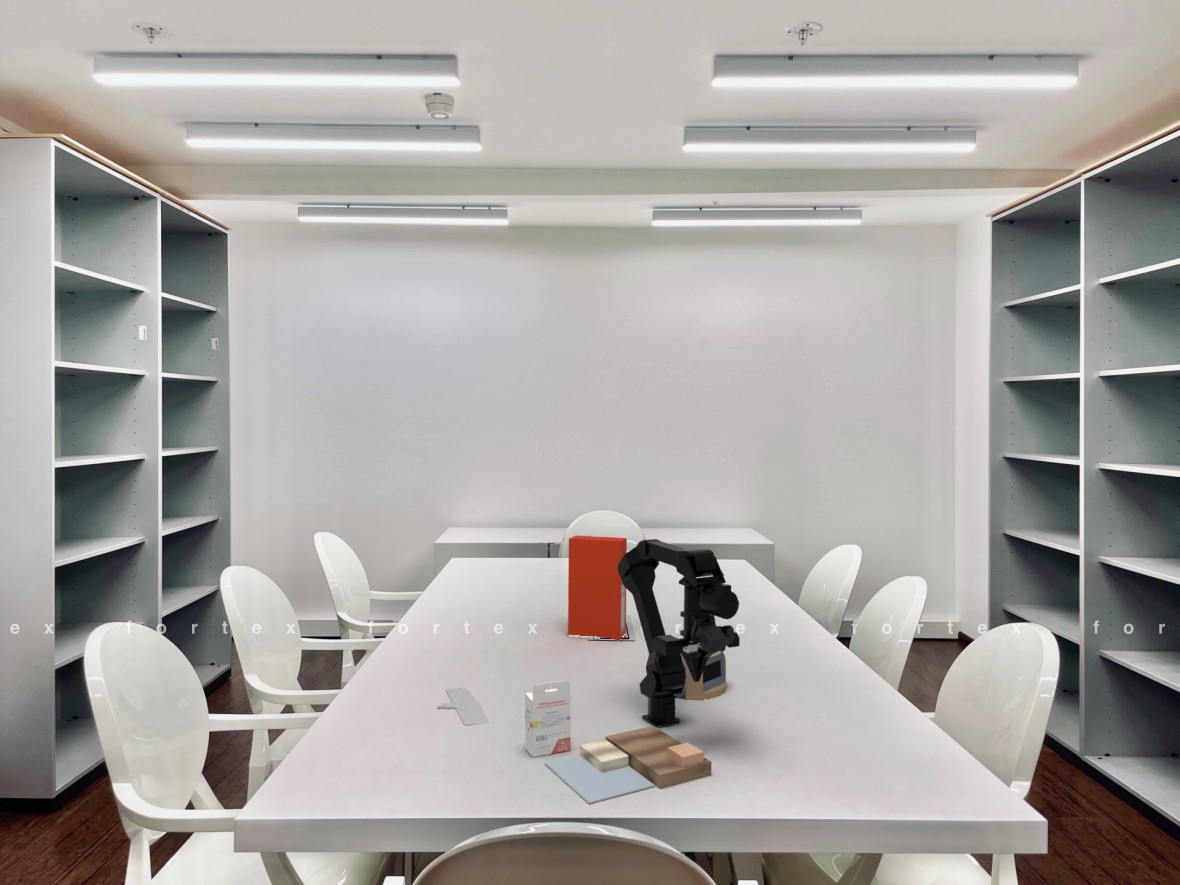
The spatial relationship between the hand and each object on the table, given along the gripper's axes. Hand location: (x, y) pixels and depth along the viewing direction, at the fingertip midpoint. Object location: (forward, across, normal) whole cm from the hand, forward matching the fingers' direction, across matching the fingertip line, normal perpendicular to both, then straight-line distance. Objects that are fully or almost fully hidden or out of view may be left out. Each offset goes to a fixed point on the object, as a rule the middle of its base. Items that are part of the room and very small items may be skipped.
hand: (696, 681), depth 159 cm
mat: (+13, -26, -6) cm, 30 cm away
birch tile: (+13, -22, -1) cm, 26 cm away
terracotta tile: (+10, -10, -12) cm, 19 cm away
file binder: (+13, +17, +82) cm, 85 cm away
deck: (+13, -13, -5) cm, 19 cm away
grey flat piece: (+14, -34, +40) cm, 54 cm away
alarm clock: (+13, +17, +30) cm, 37 cm away
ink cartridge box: (+13, -30, +9) cm, 34 cm away
